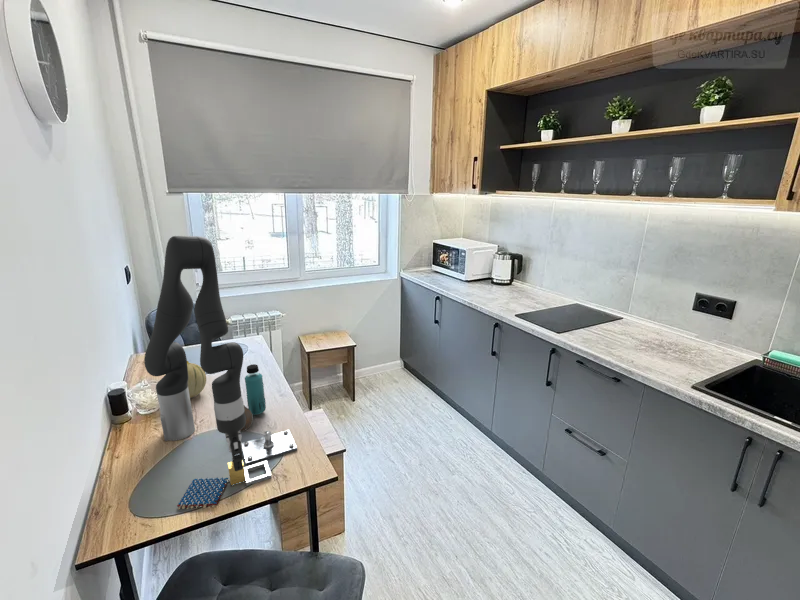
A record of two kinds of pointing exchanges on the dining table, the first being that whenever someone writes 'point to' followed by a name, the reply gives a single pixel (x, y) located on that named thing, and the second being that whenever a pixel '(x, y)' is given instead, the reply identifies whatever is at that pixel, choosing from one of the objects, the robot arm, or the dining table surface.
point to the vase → (247, 419)
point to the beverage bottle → (255, 390)
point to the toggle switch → (268, 447)
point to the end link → (243, 474)
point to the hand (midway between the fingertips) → (237, 460)
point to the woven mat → (203, 493)
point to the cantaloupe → (195, 379)
